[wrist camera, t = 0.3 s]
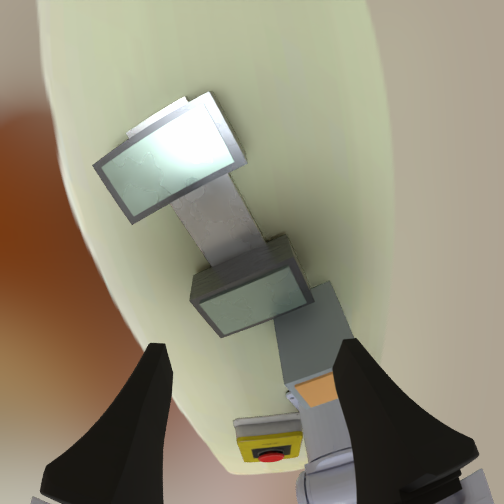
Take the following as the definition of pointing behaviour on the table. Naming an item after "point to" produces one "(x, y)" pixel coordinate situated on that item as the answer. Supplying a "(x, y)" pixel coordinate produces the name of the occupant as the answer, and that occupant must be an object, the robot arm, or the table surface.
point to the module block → (312, 346)
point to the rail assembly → (207, 212)
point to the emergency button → (269, 437)
